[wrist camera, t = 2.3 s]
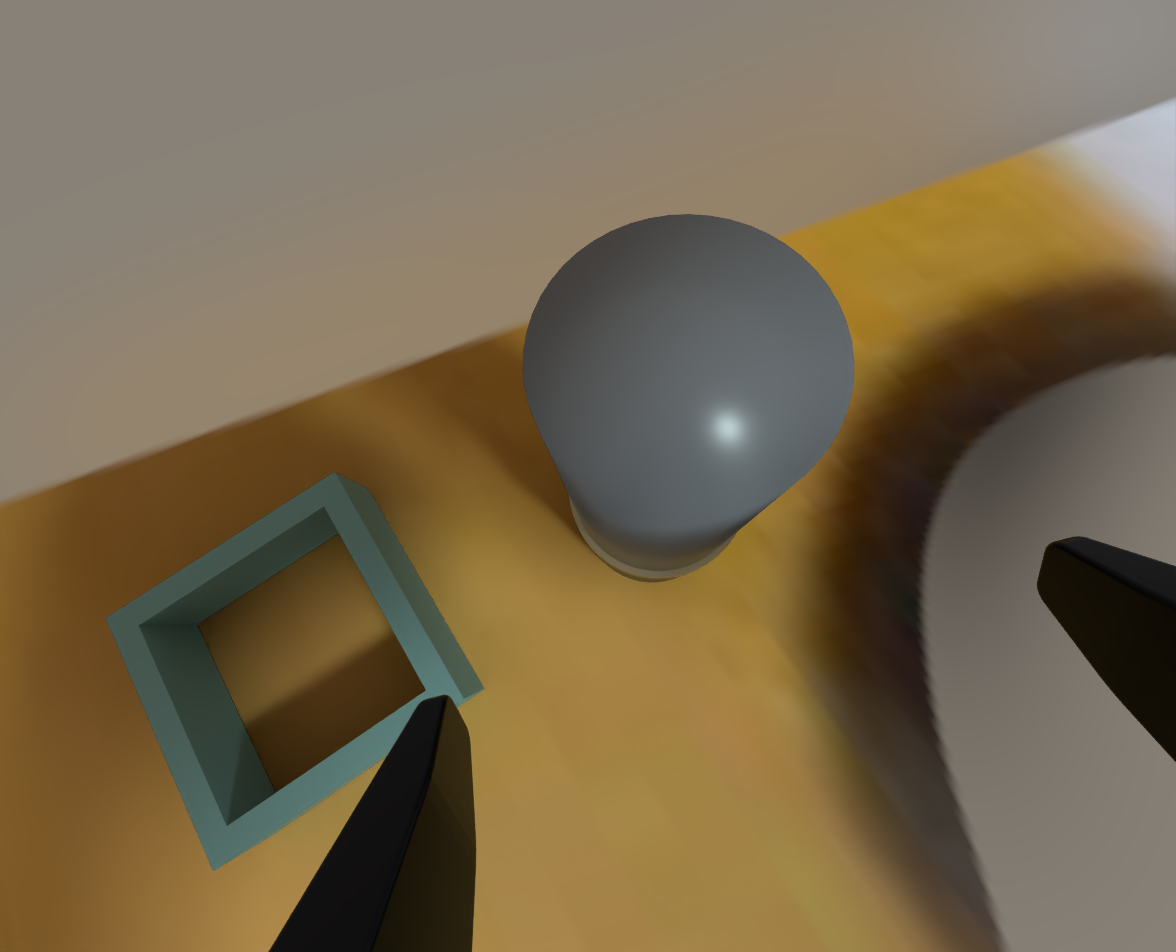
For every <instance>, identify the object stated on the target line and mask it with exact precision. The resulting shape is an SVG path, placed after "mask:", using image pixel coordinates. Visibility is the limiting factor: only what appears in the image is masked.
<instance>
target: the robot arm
mask: <svg viewBox="0 0 1176 952" xmlns="http://www.w3.org/2000/svg"><path fill="white" fill-rule="evenodd" d="M1037 589H1038V592H1039V595H1040V596H1041V599H1042V600H1043V602H1044V603H1045V604H1046V606H1047V607H1048V608H1049V610H1050V611H1051V612H1052V614H1053V615H1054V616H1055V617H1056V619H1057V620H1058V622H1059V623H1060V624H1061V626H1062V627H1063V628H1064V630H1065V631H1066V632H1067V634H1068V635H1069V636H1070V638H1071V639H1072V640H1073V641H1074V643H1075V644H1076V645H1077V647H1078V648H1079V649H1080V651H1081V652H1082V653H1083V655H1084V656H1085V657H1086V659H1087V660H1088V661H1089V663H1090V664H1091V665H1092V667H1093V668H1094V669H1095V670H1096V672H1097V673H1098V675H1099V676H1100V677H1101V678H1102V680H1103V681H1104V682H1105V683H1106V685H1107V686H1108V687H1109V688H1110V690H1111V691H1112V692H1113V693H1114V694H1115V696H1116V697H1117V698H1118V699H1119V700H1120V701H1121V702H1122V704H1123V705H1124V706H1125V707H1126V708H1127V709H1128V710H1129V711H1130V712H1131V714H1132V715H1133V716H1134V717H1135V718H1136V719H1137V720H1138V721H1139V722H1140V723H1141V724H1142V725H1143V727H1144V728H1145V729H1146V730H1147V731H1148V732H1149V733H1150V734H1151V736H1152V737H1153V738H1154V739H1155V740H1156V741H1157V742H1158V743H1159V744H1160V745H1161V746H1162V748H1163V749H1164V750H1165V751H1166V752H1167V753H1168V754H1169V755H1170V756H1171V757H1172V759H1173V760H1174V761H1175V762H1176V566H1174V565H1170V564H1167V563H1164V562H1161V561H1158V560H1155V559H1152V558H1149V557H1145V556H1142V555H1139V554H1136V553H1133V552H1130V551H1127V550H1124V549H1120V548H1117V547H1114V546H1111V545H1108V544H1105V543H1102V542H1099V541H1095V540H1092V539H1089V538H1086V537H1080V536H1079V537H1071V538H1067V539H1063V540H1059V541H1055V542H1052V543H1050V544H1049V545H1048V546H1047V547H1046V549H1045V553H1044V556H1043V560H1042V565H1041V569H1040V572H1039V577H1038V581H1037ZM475 875H476V831H475V814H474V796H473V779H472V762H471V745H470V737H469V732H468V729H467V726H466V724H465V723H464V721H463V719H462V717H461V715H460V713H459V711H458V709H457V707H456V705H455V703H454V702H453V700H452V698H451V697H450V696H449V695H440V696H436V697H432V698H428V699H425V700H423V701H421V702H420V703H419V704H418V706H417V707H416V709H415V710H414V712H413V714H412V715H411V717H410V719H409V720H408V722H407V724H406V725H405V727H404V729H403V730H402V732H401V734H400V735H399V737H398V738H397V740H396V742H395V743H394V745H393V747H392V748H391V750H390V752H389V753H388V755H387V757H386V758H385V760H384V762H383V763H382V765H381V767H380V768H379V770H378V772H377V773H376V775H375V777H374V778H373V780H372V782H371V783H370V785H369V786H368V788H367V790H366V791H365V793H364V795H363V796H362V798H361V800H360V801H359V803H358V805H357V806H356V808H355V810H354V811H353V813H352V815H351V816H350V818H349V820H348V821H347V823H346V825H345V826H344V828H343V829H342V831H341V833H340V834H339V836H338V838H337V839H336V841H335V843H334V844H333V846H332V848H331V849H330V851H329V853H328V854H327V856H326V858H325V859H324V861H323V863H322V864H321V866H320V868H319V869H318V871H317V872H316V874H315V876H314V877H313V879H312V881H311V882H310V884H309V886H308V887H307V889H306V891H305V892H304V894H303V896H302V897H301V899H300V901H299V902H298V904H297V906H296V907H295V909H294V911H293V912H292V914H291V915H290V917H289V919H288V920H287V922H286V924H285V925H284V927H283V929H282V930H281V932H280V934H279V935H278V937H277V939H276V940H275V942H274V944H273V945H272V947H271V949H270V950H269V952H472V939H473V918H474V896H475Z"/></svg>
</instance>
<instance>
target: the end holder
mask: <svg viewBox="0 0 1176 952" xmlns="http://www.w3.org/2000/svg"><path fill="white" fill-rule="evenodd" d="M338 533H339V534H340V536H341V538H342V540H343V542H344V543H345V545H346V547H347V549H348V551H349V552H350V554H351V556H352V558H353V560H354V561H355V563H356V565H357V567H358V569H359V570H360V572H361V574H362V576H363V578H364V579H365V581H366V583H367V585H368V587H369V588H370V590H371V592H372V594H373V596H374V597H375V599H376V601H377V603H378V605H379V606H380V608H381V610H382V612H383V614H384V615H385V617H386V619H387V621H388V623H389V624H390V626H391V628H392V630H393V632H394V633H395V635H396V637H397V639H398V641H399V642H400V644H401V646H402V648H403V650H404V651H405V653H406V655H407V657H408V659H409V661H410V662H411V664H412V666H413V668H414V670H415V671H416V673H417V675H418V677H419V679H420V680H421V682H422V684H423V686H424V688H425V689H426V691H424V692H423V693H421V694H420V695H418V696H417V697H415V698H414V699H413V700H411V701H410V702H408V703H407V704H405V705H404V706H402V707H401V708H399V709H398V710H396V711H395V712H394V713H392V714H391V715H389V716H388V717H386V718H385V719H383V720H382V721H380V722H379V723H377V724H376V725H374V726H373V727H372V728H370V729H369V730H367V731H366V732H364V733H363V734H361V735H360V736H358V737H357V738H355V739H354V740H352V741H351V742H350V743H348V744H347V745H345V746H344V747H342V748H341V749H339V750H338V751H336V752H335V753H333V754H332V755H331V756H329V757H328V758H326V759H325V760H323V761H322V762H320V763H319V764H317V765H316V766H314V767H313V768H311V769H310V770H309V771H307V772H306V773H304V774H303V775H301V776H300V777H298V778H297V779H295V780H294V781H292V782H291V783H289V784H288V785H287V786H285V787H284V788H282V789H281V790H279V791H278V792H276V793H275V791H274V789H273V787H272V785H271V783H270V781H269V778H268V776H267V774H266V772H265V770H264V768H263V765H262V763H261V761H260V759H259V757H258V755H257V753H256V750H255V748H254V746H253V744H252V742H251V740H250V738H249V735H248V733H247V731H246V729H245V727H244V725H243V723H242V720H241V718H240V716H239V714H238V712H237V710H236V708H235V705H234V703H233V701H232V699H231V697H230V695H229V693H228V690H227V688H226V686H225V684H224V682H223V680H222V678H221V675H220V673H219V671H218V669H217V667H216V665H215V663H214V660H213V658H212V656H211V654H210V652H209V650H208V647H207V645H206V643H205V641H204V639H203V637H202V635H201V632H200V630H199V628H198V626H197V624H199V623H201V622H202V621H204V620H205V619H207V618H208V617H210V616H211V615H213V614H214V613H216V612H218V611H219V610H221V609H222V608H224V607H225V606H227V605H228V604H230V603H231V602H233V601H234V600H236V599H238V598H239V597H241V596H242V595H244V594H245V593H247V592H248V591H250V590H251V589H253V588H255V587H256V586H258V585H259V584H261V583H262V582H264V581H265V580H267V579H268V578H270V577H271V576H273V575H275V574H276V573H278V572H279V571H281V570H282V569H284V568H285V567H287V566H288V565H290V564H292V563H293V562H295V561H296V560H298V559H299V558H301V557H302V556H304V555H305V554H307V553H308V552H310V551H312V550H313V549H315V548H316V547H318V546H319V545H321V544H322V543H324V542H325V541H327V540H329V539H330V538H332V537H333V536H335V535H336V534H338ZM106 621H107V623H108V625H109V628H110V630H111V632H112V635H113V637H114V639H115V642H116V644H117V646H118V649H119V651H120V653H121V656H122V658H123V661H124V663H125V665H126V668H127V670H128V672H129V675H130V677H131V679H132V682H133V684H134V686H135V689H136V691H137V693H138V696H139V698H140V700H141V703H142V705H143V708H144V710H145V712H146V715H147V717H148V719H149V722H150V724H151V726H152V729H153V731H154V733H155V736H156V738H157V740H158V743H159V745H160V747H161V750H162V752H163V755H164V757H165V759H166V762H167V764H168V766H169V769H170V771H171V773H172V776H173V778H174V780H175V783H176V785H177V787H178V790H179V792H180V794H181V797H182V799H183V802H184V804H185V806H186V809H187V811H188V813H189V816H190V818H191V820H192V823H193V825H194V827H195V830H196V832H197V834H198V837H199V839H200V842H201V844H202V846H203V849H204V851H205V853H206V856H207V858H208V860H209V863H210V865H211V867H212V870H213V871H214V870H216V869H218V868H219V867H221V866H223V865H224V864H226V863H228V862H229V861H231V860H232V859H234V858H236V857H237V856H239V855H241V854H242V853H244V852H246V851H247V850H249V849H251V848H252V847H254V846H256V845H257V844H259V843H261V842H262V841H264V840H265V839H267V838H269V837H270V836H271V835H273V834H274V833H276V832H277V831H279V830H280V829H282V828H283V827H285V826H286V825H287V824H289V823H290V822H292V821H293V820H295V819H296V818H298V817H299V816H301V815H302V814H303V813H305V812H306V811H308V810H309V809H311V808H312V807H314V806H315V805H317V804H318V803H319V802H321V801H322V800H324V799H325V798H327V797H328V796H330V795H331V794H332V793H334V792H335V791H337V790H338V789H340V788H341V787H343V786H344V785H346V784H347V783H348V782H350V781H351V780H353V779H354V778H356V777H357V776H359V775H360V774H362V773H363V772H364V771H366V770H367V769H369V768H370V767H372V766H373V765H375V764H376V763H378V762H379V761H380V760H382V759H383V758H385V757H386V756H387V755H388V753H389V752H390V750H391V748H392V747H393V745H394V743H395V742H396V740H397V738H398V737H399V735H400V734H401V732H402V730H403V729H404V727H405V725H406V724H407V722H408V720H409V719H410V717H411V715H412V714H413V712H414V710H415V709H416V707H417V706H418V704H419V703H420V702H421V701H423V700H425V699H428V698H432V697H436V696H440V695H449V696H450V697H451V698H452V700H453V702H454V703H455V705H456V707H459V706H460V705H462V704H463V703H465V702H466V701H468V700H469V699H470V698H472V697H473V696H475V695H476V694H478V693H479V692H481V691H482V690H484V687H483V686H482V684H481V682H480V680H479V679H478V677H477V675H476V673H475V672H474V670H473V668H472V667H471V665H470V663H469V661H468V660H467V658H466V656H465V655H464V653H463V651H462V649H461V648H460V646H459V644H458V643H457V641H456V639H455V637H454V636H453V634H452V632H451V630H450V629H449V627H448V625H447V624H446V622H445V620H444V618H443V617H442V615H441V613H440V612H439V610H438V608H437V606H436V605H435V603H434V601H433V599H432V598H431V596H430V594H429V593H428V591H427V589H426V587H425V586H424V584H423V582H422V581H421V579H420V577H419V575H418V574H417V572H416V570H415V569H414V567H413V565H412V563H411V562H410V560H409V558H408V556H407V555H406V553H405V551H404V550H403V548H402V546H401V544H400V543H399V541H398V539H397V538H396V536H395V534H394V532H393V531H392V529H391V527H390V526H389V524H388V522H387V520H386V519H385V517H384V515H383V513H382V512H381V510H380V508H379V507H378V505H377V503H376V501H375V500H374V498H373V496H372V495H371V493H370V491H369V489H368V488H366V487H364V486H362V485H360V484H358V483H356V482H354V481H352V480H350V479H348V478H346V477H344V476H342V475H340V474H338V473H336V472H333V473H332V474H330V475H329V476H327V477H325V478H324V479H322V480H321V481H319V482H318V483H316V484H314V485H313V486H311V487H310V488H308V489H307V490H305V491H304V492H302V493H300V494H299V495H297V496H296V497H294V498H293V499H291V500H289V501H288V502H286V503H285V504H283V505H282V506H280V507H278V508H277V509H275V510H274V511H272V512H271V513H269V514H267V515H266V516H264V517H263V518H261V519H260V520H258V521H257V522H255V523H253V524H252V525H250V526H249V527H247V528H246V529H244V530H242V531H241V532H239V533H238V534H236V535H235V536H233V537H231V538H230V539H228V540H227V541H225V542H224V543H222V544H221V545H219V546H217V547H216V548H214V549H213V550H211V551H210V552H208V553H206V554H205V555H203V556H202V557H200V558H199V559H197V560H195V561H194V562H192V563H191V564H189V565H188V566H186V567H185V568H183V569H181V570H180V571H178V572H177V573H175V574H174V575H172V576H170V577H169V578H167V579H166V580H164V581H163V582H161V583H159V584H158V585H156V586H155V587H153V588H152V589H150V590H148V591H147V592H145V593H144V594H142V595H141V596H139V597H138V598H136V599H134V600H133V601H131V602H130V603H128V604H127V605H125V606H123V607H122V608H120V609H119V610H117V611H116V612H114V613H112V614H111V615H109V616H108V617H106Z"/></svg>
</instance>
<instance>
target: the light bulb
mask: <svg viewBox="0 0 1176 952" xmlns="http://www.w3.org/2000/svg"><path fill="white" fill-rule="evenodd" d="M523 377H524V386H525V392H526V396H527V400H528V404H529V408H530V411H531V413H532V415H533V418H534V420H535V423H536V425H537V428H538V430H539V432H540V434H541V436H542V438H543V440H544V443H545V445H546V447H547V449H548V451H549V453H550V456H551V458H552V460H553V462H554V464H555V466H556V468H557V471H558V473H559V475H560V477H561V479H562V481H563V483H564V486H565V488H566V490H567V492H568V494H569V500H570V506H571V510H572V514H573V517H574V520H575V522H576V524H577V527H578V529H579V531H580V532H581V534H582V536H583V538H584V539H585V541H586V542H587V544H588V545H589V546H590V548H591V549H592V550H593V551H594V552H595V553H596V554H597V555H598V556H599V557H600V558H601V559H602V560H603V561H604V562H605V563H606V564H607V565H608V566H609V567H610V568H612V569H613V570H614V571H616V572H618V573H619V574H621V575H623V576H625V577H628V578H630V579H634V580H637V581H643V582H662V581H667V580H671V579H675V578H677V577H679V576H682V575H686V574H688V573H691V572H693V571H695V570H697V569H699V568H701V567H702V566H704V565H706V564H707V563H709V562H710V561H711V560H713V559H714V558H715V557H716V556H718V555H719V554H720V553H721V552H722V551H723V550H724V549H725V548H726V547H727V546H728V544H729V543H730V542H731V540H732V539H733V537H734V536H735V534H736V532H737V531H738V530H740V529H741V528H742V527H743V526H744V525H746V524H747V523H748V522H749V521H750V520H752V519H753V518H754V517H755V516H756V515H758V514H759V513H760V512H761V511H762V510H764V509H765V508H766V507H767V506H768V505H770V504H771V503H772V502H773V501H774V500H776V499H777V498H778V497H779V496H780V495H782V494H783V493H784V492H785V491H786V490H788V489H789V488H790V487H791V486H792V485H794V484H795V483H796V482H797V481H798V480H800V479H801V478H802V477H803V476H804V475H806V474H807V473H808V472H809V471H810V469H811V468H812V467H813V466H814V465H815V464H816V463H817V462H818V461H819V460H820V459H821V458H822V456H823V455H824V454H825V452H826V451H827V449H828V448H829V447H830V445H831V444H832V442H833V441H834V439H835V437H836V435H837V433H838V431H839V429H840V427H841V425H842V423H843V421H844V418H845V415H846V412H847V409H848V406H849V403H850V399H851V393H852V388H853V382H854V356H853V347H852V340H851V336H850V333H849V329H848V325H847V321H846V319H845V317H844V314H843V312H842V310H841V307H840V305H839V303H838V301H837V299H836V298H835V296H834V294H833V293H832V291H831V289H830V288H829V286H828V285H827V283H826V282H825V281H824V280H823V278H822V277H821V276H820V275H819V273H818V272H817V271H816V270H815V269H814V268H813V267H812V266H811V265H810V264H809V263H808V262H807V261H806V260H805V259H804V258H803V257H802V256H801V255H800V254H798V253H797V252H796V251H794V250H793V249H792V248H790V247H789V246H788V245H786V244H785V243H783V242H782V241H780V240H778V239H776V238H775V237H773V236H771V235H770V234H768V233H766V232H763V231H761V230H759V229H756V228H754V227H752V226H750V225H746V224H743V223H740V222H737V221H733V220H730V219H725V218H719V217H714V216H707V215H692V214H685V215H667V216H661V217H654V218H648V219H645V220H642V221H638V222H634V223H630V224H628V225H625V226H623V227H620V228H618V229H616V230H613V231H611V232H609V233H607V234H605V235H603V236H602V237H600V238H598V239H596V240H594V241H593V242H591V243H590V244H588V245H587V246H586V247H584V248H583V249H581V250H580V251H579V252H577V253H576V254H575V255H574V256H573V257H572V258H571V259H570V260H569V261H568V262H566V263H565V264H564V265H563V266H562V268H561V269H560V270H559V271H558V273H557V274H556V275H555V276H554V277H553V278H552V280H551V281H550V282H549V284H548V286H547V287H546V289H545V290H544V292H543V293H542V295H541V296H540V299H539V301H538V303H537V305H536V307H535V309H534V311H533V313H532V316H531V319H530V323H529V326H528V329H527V332H526V338H525V344H524V350H523Z"/></svg>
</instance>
